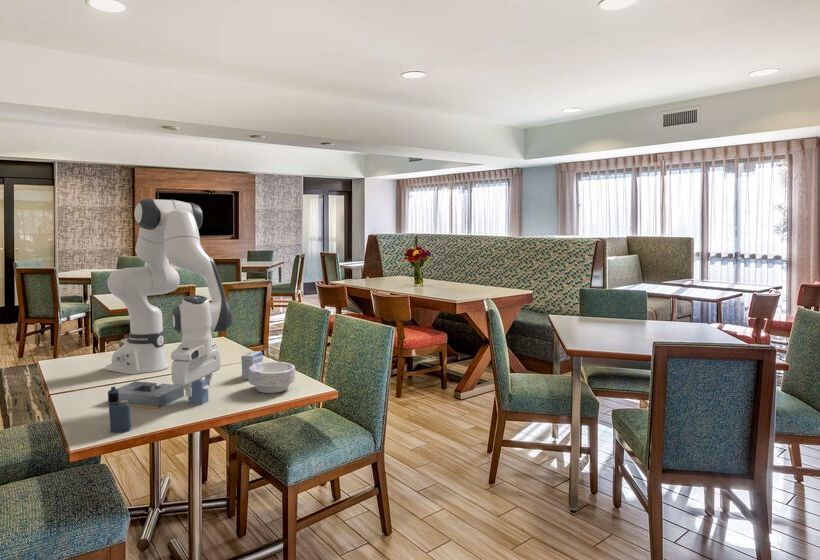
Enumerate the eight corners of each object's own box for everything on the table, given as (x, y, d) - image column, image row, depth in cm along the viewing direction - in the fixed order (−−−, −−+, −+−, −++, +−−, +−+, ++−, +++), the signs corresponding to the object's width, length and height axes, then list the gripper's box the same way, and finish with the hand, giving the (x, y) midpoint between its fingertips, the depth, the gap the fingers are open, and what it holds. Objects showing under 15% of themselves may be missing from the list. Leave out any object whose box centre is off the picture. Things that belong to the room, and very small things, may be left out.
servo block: (185, 402, 168) (184, 378, 168) (191, 399, 171) (190, 375, 171) (205, 404, 167) (205, 380, 166) (211, 401, 170) (210, 377, 169)
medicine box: (253, 380, 194) (252, 356, 193) (241, 379, 194) (241, 355, 194) (263, 374, 201) (262, 351, 200) (252, 373, 202) (251, 350, 201)
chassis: (106, 403, 166) (106, 392, 166) (135, 391, 179) (135, 381, 178) (157, 408, 163) (157, 397, 162) (183, 396, 175) (183, 385, 174)
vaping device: (112, 429, 146) (110, 385, 145) (132, 428, 147) (130, 385, 146) (108, 432, 144) (105, 388, 142) (128, 432, 144) (126, 388, 143)
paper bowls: (303, 390, 182) (303, 367, 181) (260, 399, 172) (259, 375, 172) (283, 380, 194) (283, 358, 193) (241, 388, 184) (241, 365, 183)
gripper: (207, 340, 178) (208, 381, 180) (166, 355, 158) (168, 401, 160) (224, 342, 177) (225, 383, 178) (185, 356, 157) (187, 402, 158)
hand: (198, 391), depth 169 cm, fingers open, 7 cm apart
